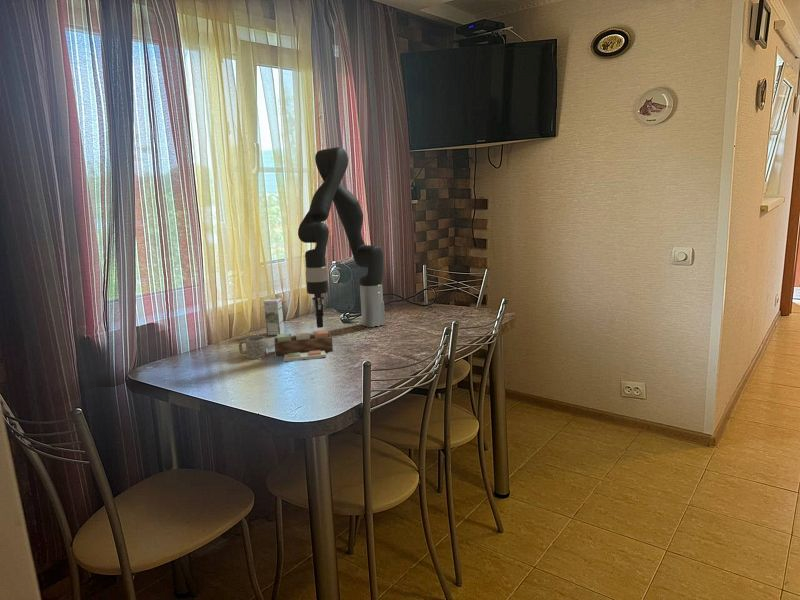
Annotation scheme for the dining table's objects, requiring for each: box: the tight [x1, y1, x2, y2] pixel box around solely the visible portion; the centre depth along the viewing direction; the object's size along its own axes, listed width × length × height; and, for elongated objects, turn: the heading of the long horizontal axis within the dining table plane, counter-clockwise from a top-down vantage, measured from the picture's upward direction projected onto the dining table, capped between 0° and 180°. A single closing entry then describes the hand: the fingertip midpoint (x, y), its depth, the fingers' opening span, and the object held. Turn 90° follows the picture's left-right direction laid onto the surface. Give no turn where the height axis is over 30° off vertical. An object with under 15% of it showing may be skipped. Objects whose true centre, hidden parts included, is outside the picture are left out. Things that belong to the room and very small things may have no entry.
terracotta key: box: [313, 329, 329, 338], centre depth 206 cm, size 5×5×2 cm
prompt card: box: [283, 350, 327, 362], centre depth 198 cm, size 14×5×2 cm, turn 102°
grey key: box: [295, 330, 311, 340], centre depth 205 cm, size 5×5×2 cm
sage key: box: [276, 332, 292, 342], centre depth 204 cm, size 5×5×2 cm
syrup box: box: [263, 297, 285, 337], centre depth 230 cm, size 6×6×14 cm
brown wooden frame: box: [274, 331, 334, 358], centre depth 205 cm, size 20×8×5 cm, turn 102°
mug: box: [238, 335, 267, 360], centre depth 202 cm, size 10×7×7 cm
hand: (320, 327), depth 205 cm, fingers closed
